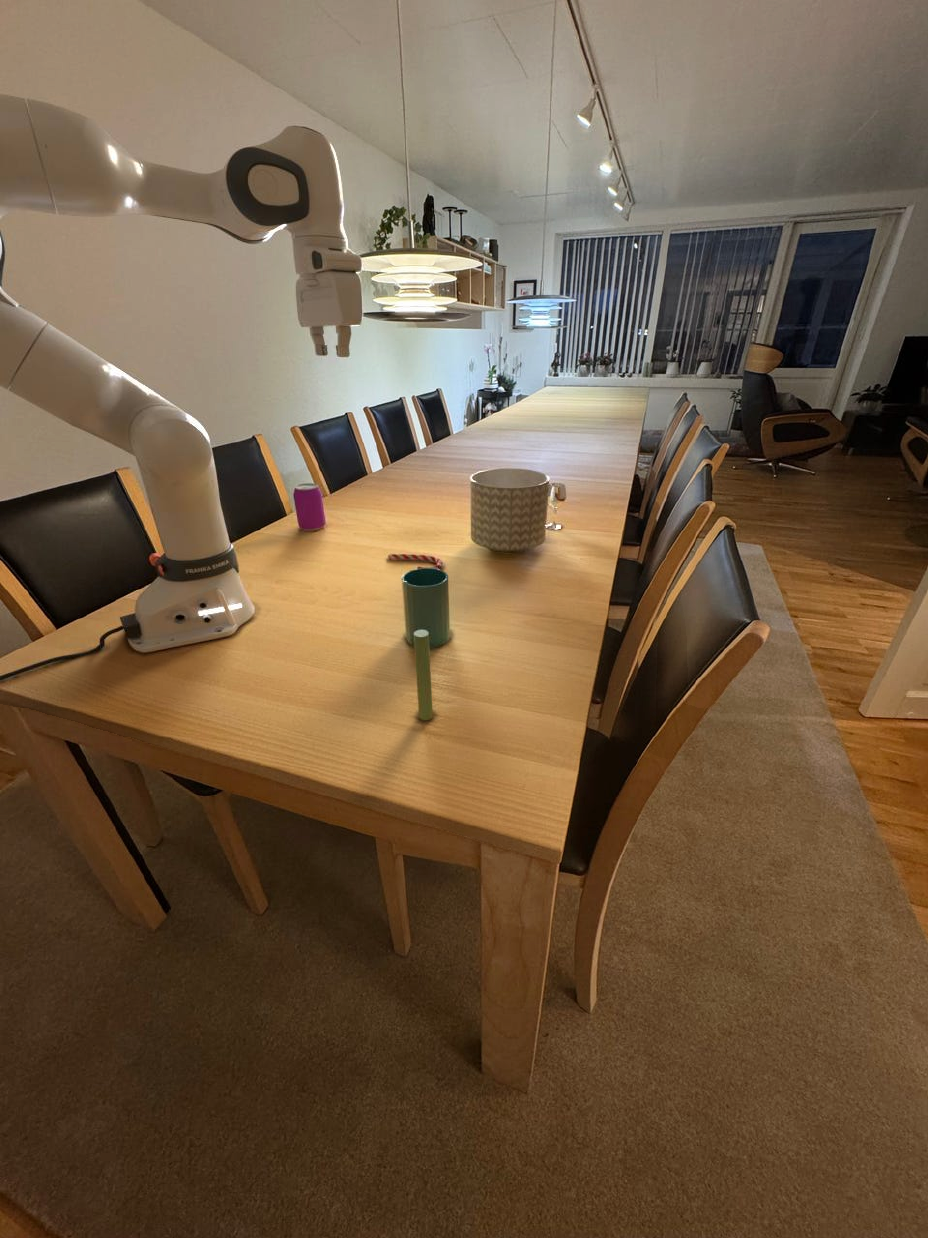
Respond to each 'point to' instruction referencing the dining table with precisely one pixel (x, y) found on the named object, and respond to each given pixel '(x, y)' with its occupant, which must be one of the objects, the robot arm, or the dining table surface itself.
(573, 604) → the dining table surface
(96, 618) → the dining table surface
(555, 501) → the wineglass
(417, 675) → the straw
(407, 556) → the candy cane
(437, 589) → the tin can
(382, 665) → the dining table surface
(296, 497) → the beverage can
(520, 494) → the planter
